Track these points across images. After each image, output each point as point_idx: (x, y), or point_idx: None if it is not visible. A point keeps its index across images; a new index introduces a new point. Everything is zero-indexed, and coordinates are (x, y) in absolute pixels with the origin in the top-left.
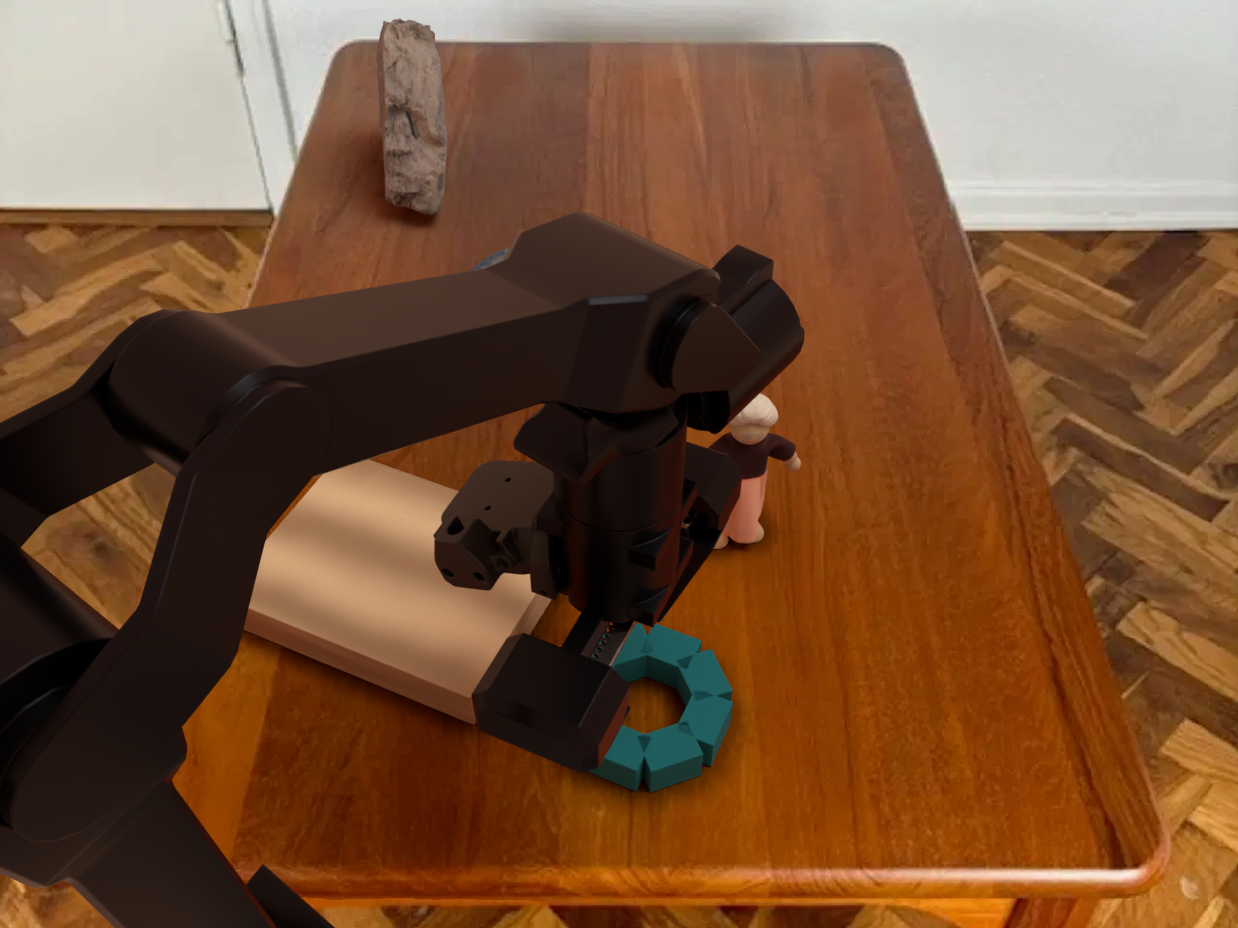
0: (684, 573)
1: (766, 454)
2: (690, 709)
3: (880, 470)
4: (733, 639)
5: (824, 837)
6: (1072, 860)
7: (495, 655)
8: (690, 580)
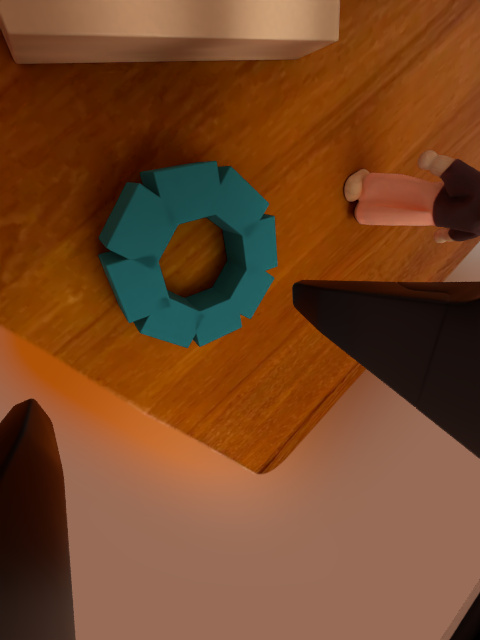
0: (404, 386)
1: (467, 231)
2: (216, 309)
3: (411, 251)
4: (284, 263)
5: (190, 411)
6: (251, 466)
7: (118, 32)
8: (390, 387)
